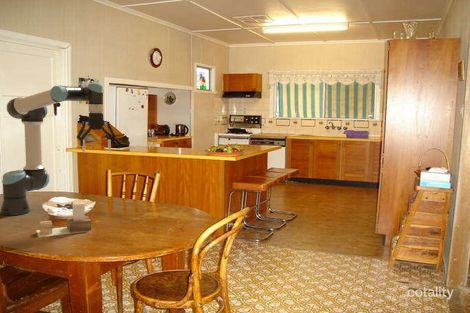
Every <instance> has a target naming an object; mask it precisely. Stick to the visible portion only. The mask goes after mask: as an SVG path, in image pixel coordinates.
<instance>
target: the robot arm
mask: <svg viewBox="0 0 470 313" xmlns="http://www.w3.org/2000/svg"><path fill="white" fill-rule="evenodd" d="M87 85H88V86H69V85H68V86H67V85H54V86H52V88H50V89H48V90H45V91H42V92H39V93H36V94H31V95H29V96H26V97H22V96H21V97H20V96H18V97H16V98H12V99H10V100H8V102H7V104H6V112H7V113H8V115H10V117H12V118H13V119H17V120H21V121H20V122H21V123H22V125H23V126H24V147H25V148H24V149H25V150H24V151H25V153H24V154H25V165H24V166H23V167H22V169H18V170H11V171H7V172H5V173H3V175H2V181H1V184H2V195H3V196H2V198H3V200H2V203H1V206H0V215H2V216H20V215H25V214H28V213H30V212H31V207H30V204H29V202H28V199H27V192H33V191H39V190H42V189H44V188H46V187H47V186H48V184H49V183H50V174H49V172H48V171H47V170H46V169H45V166H44V165H43V162H42V160H43V158H42V132H41V130H42V129H41V125H42V124H43V122H44V118H46V117H47V114H48V107H47V106H51V105H54V104H59V103H62V102H65V101H66V102H71V101H72V102H88V112H89V113H88V121H84V120H83V121H82V123H81V124H82V125H81V127H80V129H79V131H78V133H77V135H76V139H77V140H79V141H80V147H82V153H86V152H85V150H86V145H85V144H86V143H85V142H86V141H85V138H86V137H87V136H88V135H89V133H90V132H91V131H92V130H93V131H95V130H98V131H102V133H103V134H105V135H106V136H107V138H108V140H107V150H108V152H110V153H111V151H112V150H111V147H112V146H113V140H114V139H116V138H117V136H116V135H115V133H114V130H113V129H112V127H111V124H110V121H109V120H108V121H104V86H103V84H102V83H97V82H96V83H94V82H93V83H92V82H91V83H90V82H89V83H88V84H87ZM87 125H88V128H87V129H86V130H85V128H86V126H87ZM104 126H107V129H108V130H109V132H108V131H107V130H106V129H105V127H104ZM84 130H85V132H84ZM83 132H84V133H83Z"/></svg>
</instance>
